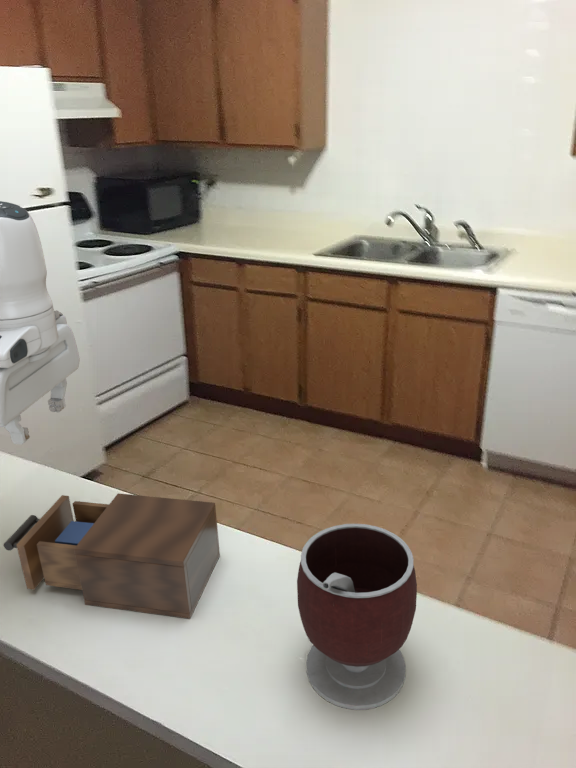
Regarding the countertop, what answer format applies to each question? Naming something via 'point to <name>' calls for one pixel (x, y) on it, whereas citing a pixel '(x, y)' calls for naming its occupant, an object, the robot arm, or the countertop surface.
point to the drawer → (51, 544)
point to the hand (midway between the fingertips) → (40, 425)
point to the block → (73, 533)
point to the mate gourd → (356, 613)
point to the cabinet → (149, 555)
